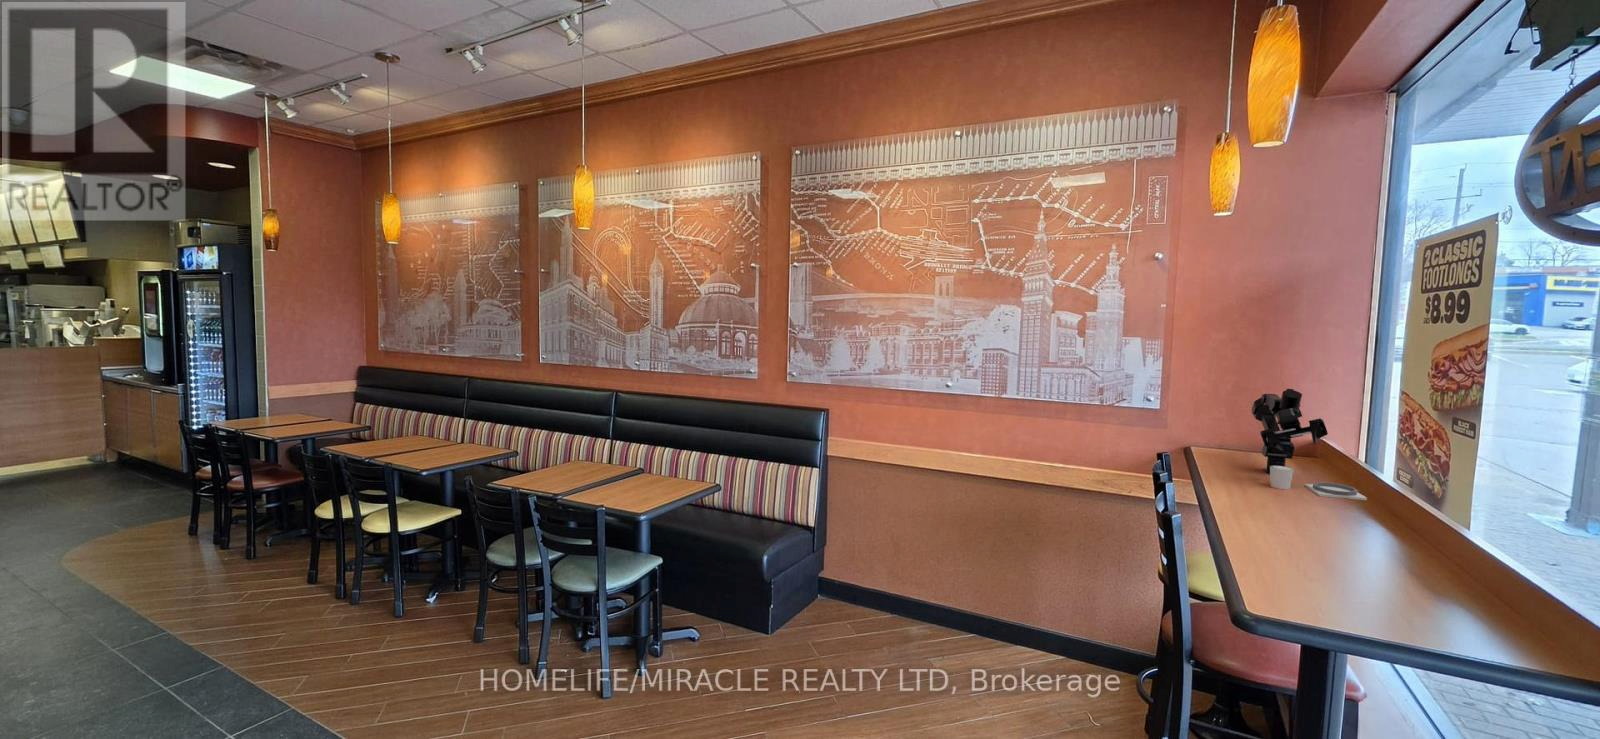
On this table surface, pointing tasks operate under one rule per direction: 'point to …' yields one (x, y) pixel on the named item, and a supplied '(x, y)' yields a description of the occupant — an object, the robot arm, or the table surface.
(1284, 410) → the robot arm
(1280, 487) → the white cup
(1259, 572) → the table surface
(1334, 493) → the coaster
